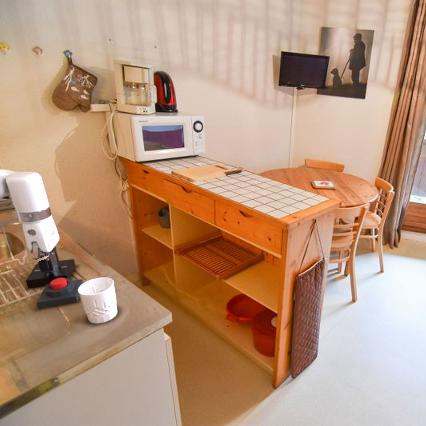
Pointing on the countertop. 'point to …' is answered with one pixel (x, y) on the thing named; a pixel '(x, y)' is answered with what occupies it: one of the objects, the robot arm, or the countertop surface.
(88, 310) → the white cup
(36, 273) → the stove panel
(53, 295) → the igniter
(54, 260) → the stove knob
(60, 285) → the button
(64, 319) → the countertop surface
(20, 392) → the countertop surface
